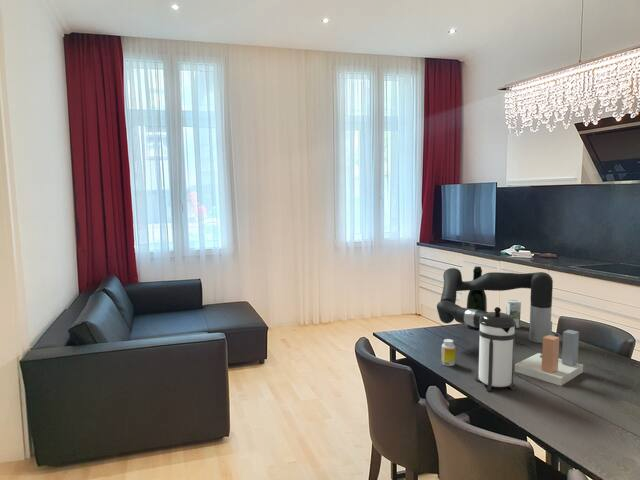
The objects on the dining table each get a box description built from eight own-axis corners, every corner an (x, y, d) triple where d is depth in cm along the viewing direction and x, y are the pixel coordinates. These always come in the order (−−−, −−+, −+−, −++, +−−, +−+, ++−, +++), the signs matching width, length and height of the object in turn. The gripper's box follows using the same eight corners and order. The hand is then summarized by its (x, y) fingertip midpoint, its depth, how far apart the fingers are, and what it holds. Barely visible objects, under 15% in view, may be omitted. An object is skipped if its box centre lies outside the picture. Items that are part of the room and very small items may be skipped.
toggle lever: (541, 352, 189) (552, 333, 185) (544, 350, 191) (555, 331, 187) (547, 356, 188) (558, 337, 183) (550, 354, 189) (561, 335, 185)
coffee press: (523, 383, 171) (526, 306, 168) (507, 397, 160) (510, 314, 156) (479, 371, 183) (481, 299, 180) (461, 383, 171) (463, 306, 168)
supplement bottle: (457, 365, 190) (458, 341, 189) (447, 367, 188) (448, 343, 187) (448, 360, 195) (449, 337, 194) (438, 362, 193) (438, 339, 192)
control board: (514, 371, 183) (514, 362, 182) (537, 359, 195) (538, 351, 195) (560, 385, 169) (561, 376, 168) (582, 372, 181) (583, 363, 181)
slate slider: (561, 363, 182) (563, 332, 181) (567, 360, 185) (568, 329, 184) (572, 366, 179) (573, 334, 178) (577, 363, 182) (579, 331, 181)
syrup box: (516, 325, 245) (517, 299, 244) (520, 328, 239) (521, 301, 238) (505, 325, 246) (506, 299, 244) (509, 328, 240) (509, 301, 238)
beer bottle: (462, 327, 243) (463, 266, 239) (472, 323, 250) (473, 264, 246) (480, 331, 235) (482, 268, 232) (490, 327, 242) (491, 266, 239)
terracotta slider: (541, 370, 176) (542, 337, 174) (547, 366, 179) (548, 334, 177) (552, 373, 172) (553, 340, 171) (557, 369, 176) (559, 337, 174)
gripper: (485, 324, 203) (523, 332, 189) (468, 329, 194) (506, 339, 181) (485, 307, 202) (523, 314, 188) (468, 312, 194) (506, 320, 180)
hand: (515, 326), depth 185 cm, fingers closed
